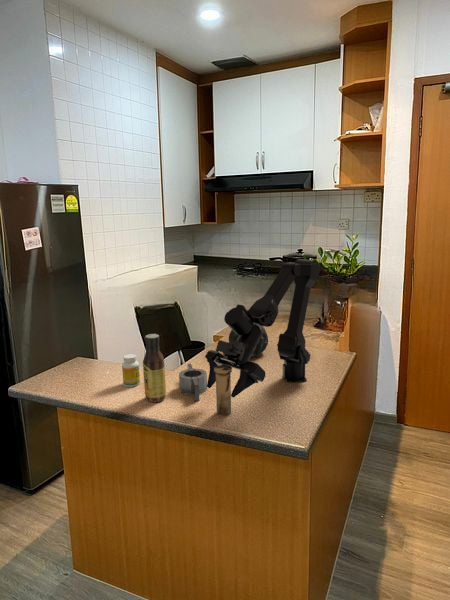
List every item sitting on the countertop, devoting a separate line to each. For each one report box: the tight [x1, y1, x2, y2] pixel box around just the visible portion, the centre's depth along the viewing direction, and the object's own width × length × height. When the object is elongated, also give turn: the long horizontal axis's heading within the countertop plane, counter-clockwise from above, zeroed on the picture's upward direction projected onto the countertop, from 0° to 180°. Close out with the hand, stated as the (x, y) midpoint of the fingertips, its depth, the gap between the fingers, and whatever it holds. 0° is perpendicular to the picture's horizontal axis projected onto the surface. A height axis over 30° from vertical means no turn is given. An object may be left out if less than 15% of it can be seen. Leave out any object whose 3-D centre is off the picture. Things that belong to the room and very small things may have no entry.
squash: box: [228, 324, 269, 357], centre depth 170 cm, size 14×15×15 cm
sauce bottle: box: [142, 333, 167, 403], centre depth 130 cm, size 7×6×20 cm
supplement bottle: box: [121, 353, 141, 388], centre depth 143 cm, size 5×5×10 cm
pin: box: [214, 365, 233, 417], centre depth 121 cm, size 5×5×13 cm
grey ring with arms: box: [178, 363, 208, 402], centre depth 139 cm, size 18×8×5 cm, turn 11°
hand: (219, 392), depth 120 cm, fingers open, 9 cm apart
